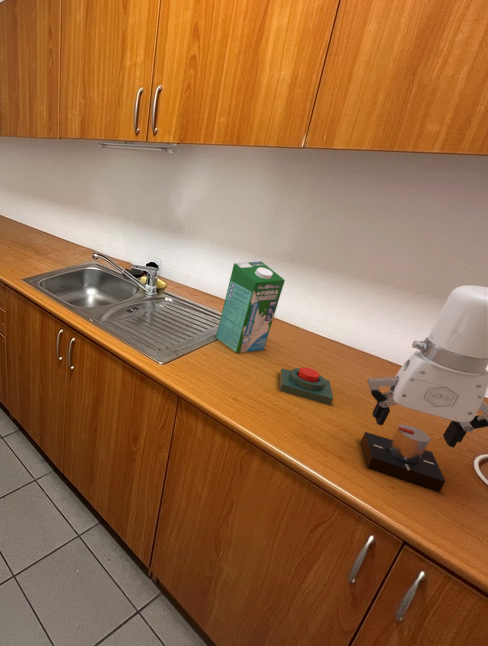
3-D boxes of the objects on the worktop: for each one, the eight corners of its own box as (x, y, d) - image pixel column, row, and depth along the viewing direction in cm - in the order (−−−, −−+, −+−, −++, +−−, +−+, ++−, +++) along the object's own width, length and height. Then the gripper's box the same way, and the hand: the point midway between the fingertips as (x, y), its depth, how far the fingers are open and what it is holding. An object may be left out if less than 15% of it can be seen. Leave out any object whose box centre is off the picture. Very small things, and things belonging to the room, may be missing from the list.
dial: (415, 451, 78) (427, 429, 75) (421, 467, 74) (434, 444, 72) (385, 442, 80) (396, 420, 78) (389, 457, 77) (401, 434, 74)
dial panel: (425, 462, 79) (432, 450, 78) (439, 494, 72) (446, 482, 71) (359, 441, 84) (365, 430, 83) (367, 469, 78) (373, 457, 76)
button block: (326, 387, 101) (331, 374, 99) (330, 405, 94) (335, 392, 93) (279, 374, 106) (283, 362, 104) (279, 391, 100) (284, 378, 98)
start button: (317, 376, 99) (319, 370, 98) (318, 384, 96) (320, 378, 95) (297, 371, 101) (299, 365, 101) (298, 379, 98) (300, 373, 97)
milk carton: (236, 353, 115) (258, 274, 106) (215, 337, 123) (233, 262, 114) (264, 350, 116) (287, 272, 107) (241, 334, 125) (261, 260, 115)
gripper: (391, 350, 70) (355, 424, 77) (542, 384, 61) (487, 465, 68) (382, 332, 76) (349, 402, 82) (519, 361, 67) (470, 437, 73)
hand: (411, 431), depth 75 cm, fingers open, 9 cm apart
